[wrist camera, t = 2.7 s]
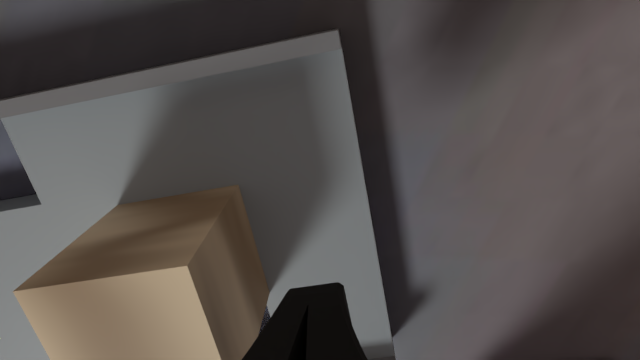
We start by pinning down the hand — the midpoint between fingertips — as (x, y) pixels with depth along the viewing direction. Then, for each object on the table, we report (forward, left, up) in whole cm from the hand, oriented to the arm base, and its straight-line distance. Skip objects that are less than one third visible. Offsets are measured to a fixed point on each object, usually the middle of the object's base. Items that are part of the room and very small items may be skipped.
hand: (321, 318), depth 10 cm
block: (+5, 0, -5) cm, 7 cm away
